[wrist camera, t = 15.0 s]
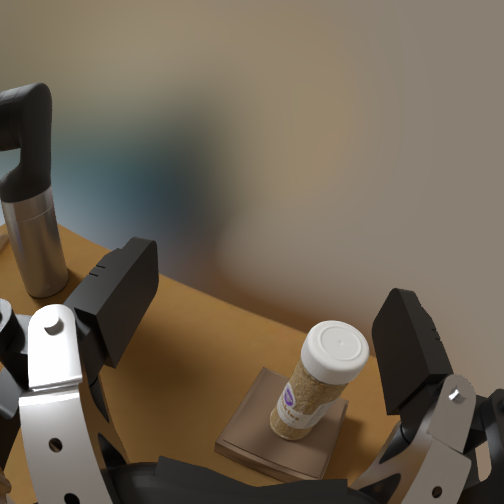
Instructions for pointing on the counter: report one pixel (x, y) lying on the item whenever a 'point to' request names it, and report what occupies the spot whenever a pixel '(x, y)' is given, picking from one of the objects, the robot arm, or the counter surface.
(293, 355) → the counter surface
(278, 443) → the walnut plinth
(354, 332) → the sprinkles bottle
